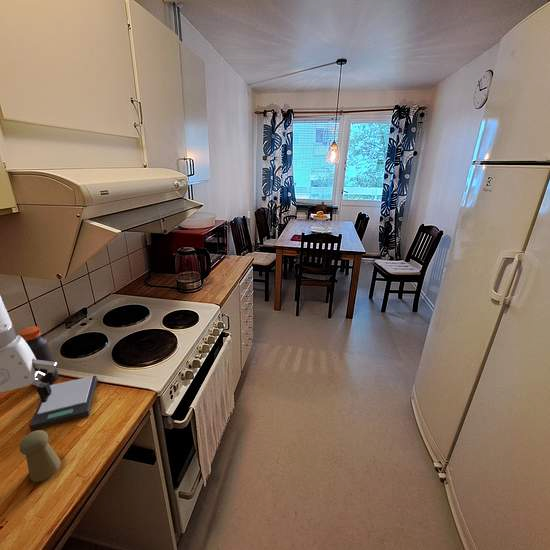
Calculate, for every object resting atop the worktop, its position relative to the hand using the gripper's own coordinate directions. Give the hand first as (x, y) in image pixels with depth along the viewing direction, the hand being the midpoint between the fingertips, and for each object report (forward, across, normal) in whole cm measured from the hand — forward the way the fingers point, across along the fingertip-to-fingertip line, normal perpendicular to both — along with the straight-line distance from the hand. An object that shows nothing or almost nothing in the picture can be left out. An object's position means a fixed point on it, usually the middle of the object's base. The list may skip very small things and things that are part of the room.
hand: (19, 404), depth 62 cm
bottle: (+20, -9, +36) cm, 42 cm away
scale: (+21, 0, +22) cm, 30 cm away
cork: (+21, -1, 0) cm, 21 cm away
